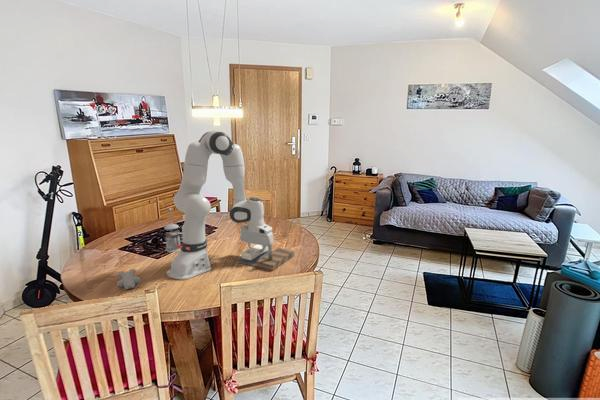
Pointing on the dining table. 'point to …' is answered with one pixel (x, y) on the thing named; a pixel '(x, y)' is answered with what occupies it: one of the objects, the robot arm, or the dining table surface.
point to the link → (253, 252)
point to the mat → (253, 261)
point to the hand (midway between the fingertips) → (257, 251)
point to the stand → (275, 258)
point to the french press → (172, 237)
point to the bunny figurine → (128, 279)
